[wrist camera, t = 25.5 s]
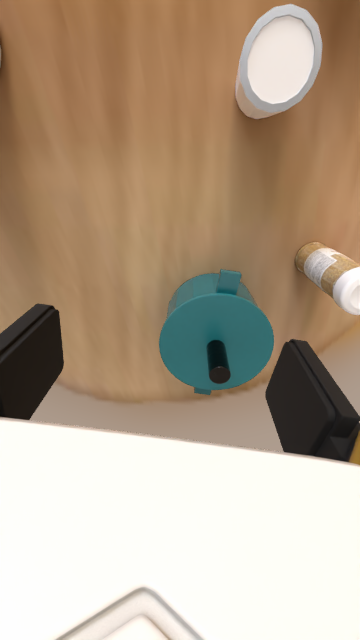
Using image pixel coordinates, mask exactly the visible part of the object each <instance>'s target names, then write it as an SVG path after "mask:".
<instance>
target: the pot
mask: <svg viewBox="0 0 360 640" xmlns="http://www.w3.org/2000/svg"><path fill="white" fill-rule="evenodd" d="M240 279H241V273H240V272H236V271H229V270H222V269H221V270H220V274H215V273H213V274H203V275H199V276H196V277H194V278H192V279H190V280H188V281H186V282H185V283H184V284H182V285H181V286H180V287H179V288H178V289H177V291H176V292H175V293H174V295H173V297H172V299H171V301H170V302H169V307H168V313H167V318H168V317H169V315H170V314H171V313H172V312H173V311H174V310H175V309H176V308H177V307H178V306H180V305H181V304H183V303H184V302H186V301H188V300H190V299H192V298H195V297H197V296H201V295H205V294H211V293H225V294H232V295H236V296H239V297H242V298H244V299H246V300H248V301H250V302H252V303H253V304H255V305H256V306H257V304H256V302H255V300H254V298H253V297H252V295H251V294H250V292H249V291H248V290H247V288H246V287H245V285H243V284H242V283H241V282H240ZM257 307H258V306H257ZM194 393H199V394H207V395H210V393H211V390H206V389H200V388H196V387H194Z"/></svg>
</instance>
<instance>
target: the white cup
mask: <svg viewBox="0 0 360 640" xmlns="http://www.w3.org/2000/svg"><path fill="white" fill-rule="evenodd" d="M321 54H322V40H321V36H320V32H319V27H318V24H317V23H316V21H315V20H314V19H313V17H312V16H311V15H310V14H309V12H308V11H307V10H305V9H303V8H300V7H298V6H295V5H293V4H288V5H283V6H278V7H274V8H272V9H271V10H270V11H268V12H267V13H266V14H264V15H263V16H262V17H261V18H259V19H258V20H257V22H256V23H255V25H254V26H253V28H252V29H251V31H250V32H249V34H248V36H247V37H246V39H245V43H244V47H243V50H242V54H241V57H240V62H239V67H238V73H237V79H236V84H235V90H236V100H237V103H238V105H239V108H240V110H241V111H242V112H243V113H244V114H245V115H246V116H248V117H251V118H254V119H261V118H266V117H269V116H272V115H275V114H278V113H280V112H283V111H286V110H287V109H289V108H290V107H292V106H294V105H295V104H297V103H298V102H300V101H301V100H302V98H303V97H304V96H305V95H306V93H307V92H308V91H309V89H310V88H311V87H312V86H313V83H314V81H315V78H316V76H317V73H318V71H319V68H320V65H321Z"/></svg>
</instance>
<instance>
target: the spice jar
mask: <svg viewBox="0 0 360 640" xmlns="http://www.w3.org/2000/svg"><path fill="white" fill-rule="evenodd" d="M295 263H296V266H297V268H298V270H299V271H301V272H302V273H304V274H306V276H307V277H308V278H309V279H310V280H311V281H313V282H314V283H315V284H316V285H317V286H318V287H319V288H321V289H322V290H323V291H324V292H325V293H327V294H329V295H330V296H331V297H332V298H333V299H334V301H335V302H336V304H337V305H338V306H340V307H341V308H342V309H343V310H345V311H346V312H348V313H350V314H353V315H360V264H358V263H357V262H355V261H353V260H352V259H350V258H348V257H346V256H344V255H343V254H341V253H339V252H337V251H335V250H333V249H330V248H328V247H326V246H325V245H324V244H322V243H319V242H312V243H309V244H307V245H305V246H303V247H302V248H301V249H300V251H299V252H298V253H297V255H296V259H295Z"/></svg>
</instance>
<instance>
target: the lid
mask: <svg viewBox="0 0 360 640" xmlns="http://www.w3.org/2000/svg"><path fill="white" fill-rule="evenodd" d="M273 345H274V335H273V330H272V327H271V324H270V322H269V321H268V319H267V317H266V315H265V314H264V313H263V312H262V310H260V309H259V308H258V307H257V306H256V305H255V304H253V303H252V302H250V301H248V300H246V299H244V298H242V297H239V296H236V295H232V294H225V293H211V294H205V295H201V296H197V297H195V298H192V299H190V300H188V301H186V302H184V303H183V304H181V305H180V306H178V307H177V308H176V309H175V310H174V311H173V312H172V313H171V314H170V315H169V317H168V318H167V319H166V321H165V323H164V325H163V327H162V330H161V334H160V339H159V348H160V354H161V358H162V360H163V362H164V364H165V366H166V367H167V369H168V370H169V371H170V372H171V373H172V374H173V375H174V376H175V377H176V378H178V379H179V380H180V381H182V382H184V383H186V384H188V385H190V386H193V387H196V388H200V389H206V390H222V389H229V388H233V387H236V386H239V385H241V384H243V383H246V382H247V381H249V380H251V379H252V378H254V377H255V376H256V375H257V374H258V373H259V372H261V370H262V369H263V368H264V367H265V366H266V364H267V362H268V361H269V359H270V357H271V354H272V351H273Z"/></svg>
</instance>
